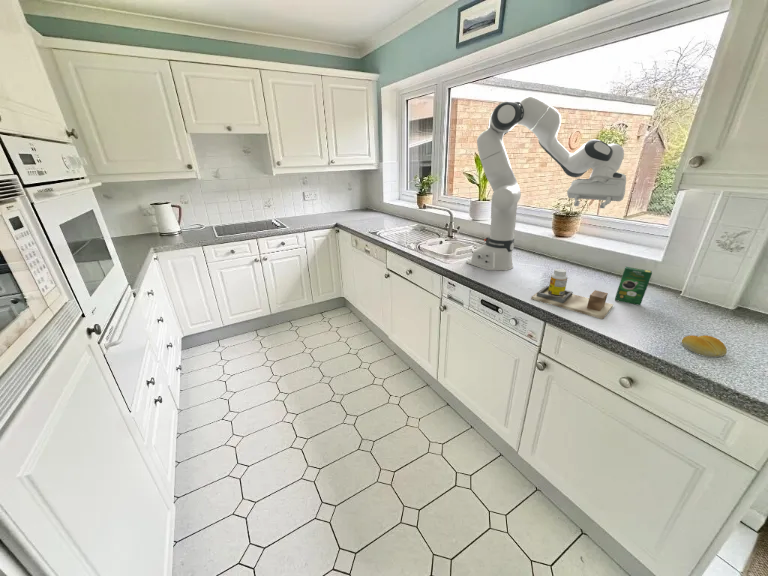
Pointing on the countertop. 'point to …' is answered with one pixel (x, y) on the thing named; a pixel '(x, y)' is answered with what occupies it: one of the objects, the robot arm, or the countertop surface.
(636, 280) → the coffee box
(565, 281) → the supplement bottle
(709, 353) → the bread roll
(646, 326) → the countertop surface
